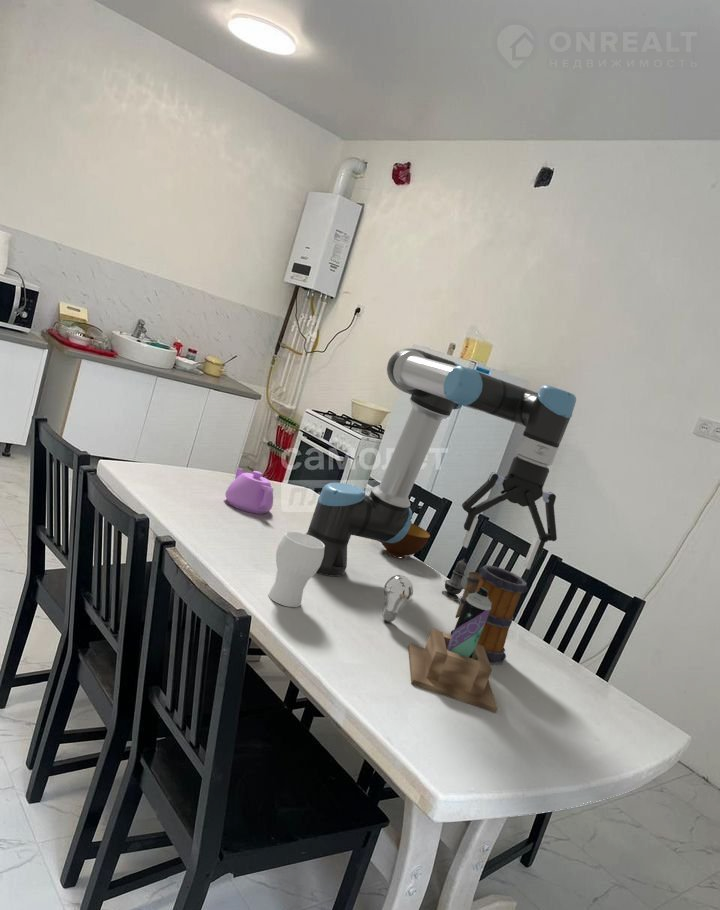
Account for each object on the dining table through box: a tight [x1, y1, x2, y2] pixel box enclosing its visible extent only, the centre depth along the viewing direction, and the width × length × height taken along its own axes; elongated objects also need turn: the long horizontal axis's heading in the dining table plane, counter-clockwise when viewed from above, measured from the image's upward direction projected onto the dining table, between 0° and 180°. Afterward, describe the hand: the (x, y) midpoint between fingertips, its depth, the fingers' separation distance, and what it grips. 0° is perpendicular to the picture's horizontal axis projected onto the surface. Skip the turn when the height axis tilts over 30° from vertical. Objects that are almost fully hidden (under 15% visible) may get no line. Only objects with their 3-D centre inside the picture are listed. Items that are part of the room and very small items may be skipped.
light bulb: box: [381, 574, 414, 624], centre depth 166 cm, size 7×7×12 cm
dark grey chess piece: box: [441, 558, 468, 601], centre depth 204 cm, size 6×6×12 cm
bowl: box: [380, 522, 431, 558], centre depth 228 cm, size 18×18×10 cm
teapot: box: [225, 467, 274, 515], centre depth 224 cm, size 22×16×12 cm
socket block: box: [407, 628, 499, 714], centre depth 147 cm, size 18×18×7 cm
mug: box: [450, 564, 529, 666], centre depth 170 cm, size 19×14×20 cm
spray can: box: [447, 587, 492, 659], centre depth 146 cm, size 6×6×20 cm
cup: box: [268, 530, 325, 608], centre depth 158 cm, size 11×11×15 cm
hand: (495, 556), depth 144 cm, fingers open, 13 cm apart
